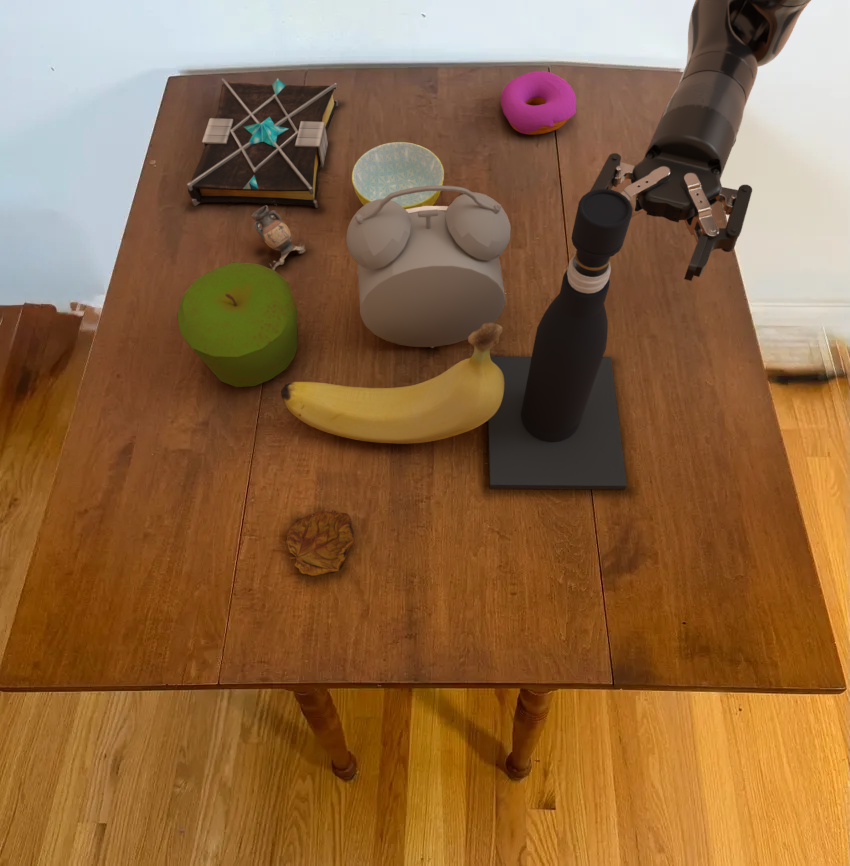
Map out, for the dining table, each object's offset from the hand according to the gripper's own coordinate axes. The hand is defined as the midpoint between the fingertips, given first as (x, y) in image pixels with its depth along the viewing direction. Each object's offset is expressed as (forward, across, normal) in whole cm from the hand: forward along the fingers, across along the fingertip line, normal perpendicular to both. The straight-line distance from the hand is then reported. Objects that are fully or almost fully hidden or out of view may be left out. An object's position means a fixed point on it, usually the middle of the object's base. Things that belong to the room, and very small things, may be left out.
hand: (643, 262), depth 66 cm
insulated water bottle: (+11, -4, +15) cm, 19 cm away
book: (-13, -55, +16) cm, 58 cm away
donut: (-34, -24, +21) cm, 47 cm away
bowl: (-10, -33, +17) cm, 39 cm away
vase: (+2, -44, +15) cm, 47 cm away
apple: (+17, -38, +13) cm, 44 cm away
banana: (+20, -19, +14) cm, 31 cm away
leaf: (+34, -20, +12) cm, 41 cm away
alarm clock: (+6, -21, +16) cm, 27 cm away
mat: (+12, -4, +16) cm, 20 cm away
